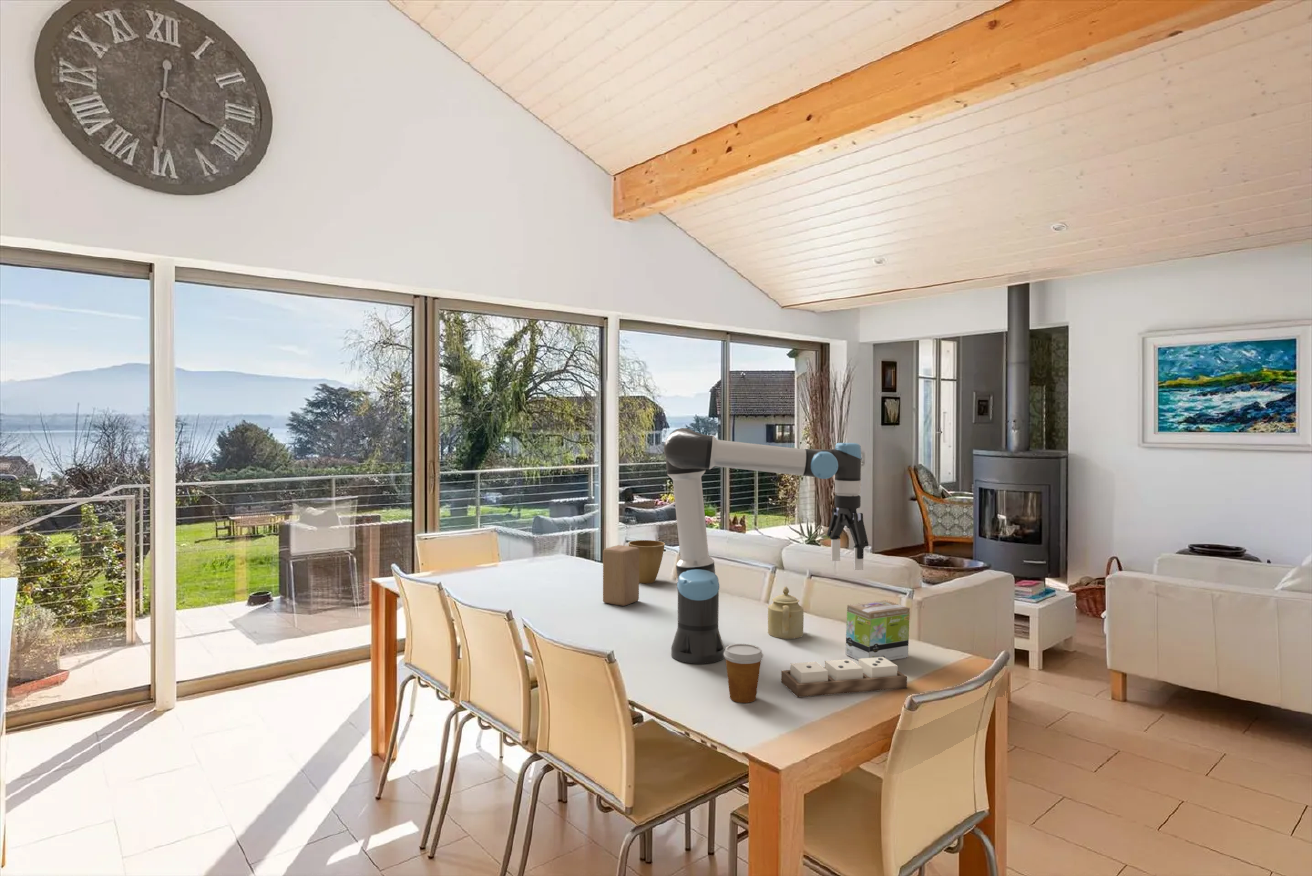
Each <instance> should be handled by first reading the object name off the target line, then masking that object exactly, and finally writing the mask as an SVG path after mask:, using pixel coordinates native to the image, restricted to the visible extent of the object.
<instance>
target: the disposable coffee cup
mask: <svg viewBox="0 0 1312 876" xmlns="http://www.w3.org/2000/svg"><path fill="white" fill-rule="evenodd" d="M763 657H764V654H763V652H762V649H761V648H760V647H759V646H756V645H755V644H749V643H734V644H729V645H727V646H726V647H725V648H724V659H725V665H726V675H727V682H728V683H727V685H728V692H729V698H730V700H731V701H733V702H735V703H740V704H748V703H753V702H755V701H756V699H757V693H758V685H759V679H760V671H761V663H762V660H763Z"/></svg>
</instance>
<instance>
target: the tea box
mask: <svg viewBox="0 0 1312 876" xmlns="http://www.w3.org/2000/svg"><path fill="white" fill-rule="evenodd" d="M846 607H847V608H846V627H845V629H846V630H845V633H846V634H845V655H847V656H848V657H850V658H852V659H855V660H857V661H859V659H861V658H875V657H884V658H886V659H887V660H889V661H894V660H901V659H907V658H908V657H909V639H910V635H909V634H910V613H911V611H910V609H911V608H910V607H908V606H905V605H901V604H899V603H896V602H893V601H890V600H885V599H883V600H877V601H876V600H875V601H869V602H861V603H853V604H847V606H846ZM906 657H907V658H906Z"/></svg>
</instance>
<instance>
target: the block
mask: <svg viewBox="0 0 1312 876" xmlns="http://www.w3.org/2000/svg"><path fill="white" fill-rule="evenodd" d="M602 559H603V560H602V601H603V603H605V604H610V605H611V604H612V605H616V606H622V607H625V606H628V605H630V604H633V603H636V602H638V601H639V600H640V583H639V548H637V547H630V546H629V545H622V544H621V545H620V544H618V545H614V546H609V547H606V548H604V549H603V550H602Z"/></svg>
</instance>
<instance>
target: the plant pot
mask: <svg viewBox="0 0 1312 876" xmlns="http://www.w3.org/2000/svg"><path fill="white" fill-rule="evenodd" d="M665 544H666V543H665V542H663V541H659V540H649V539H637V540H631V541H629V542H628V546H630V547H637V548H639V584H653V583H655V582H656V579H657V577H658V574H659V571H660V567H661V564H662V562H663V561H662V560H663V556H664V553H665V546H666V545H665Z"/></svg>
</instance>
